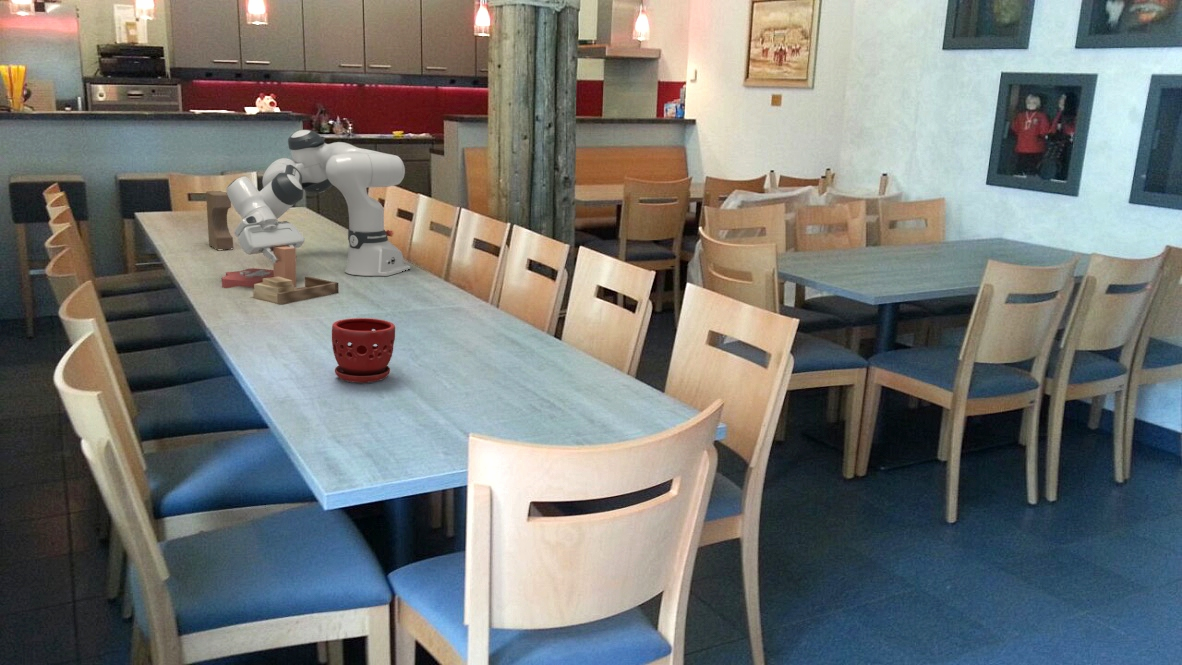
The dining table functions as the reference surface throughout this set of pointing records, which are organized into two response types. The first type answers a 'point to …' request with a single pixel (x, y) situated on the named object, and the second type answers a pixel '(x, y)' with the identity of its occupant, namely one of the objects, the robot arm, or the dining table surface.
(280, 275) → the salmon orange upright block
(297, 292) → the brown wooden tray
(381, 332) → the plant pot
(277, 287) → the offcut stack
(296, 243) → the robot arm
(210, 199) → the decorative block
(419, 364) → the dining table surface
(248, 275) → the plaque
